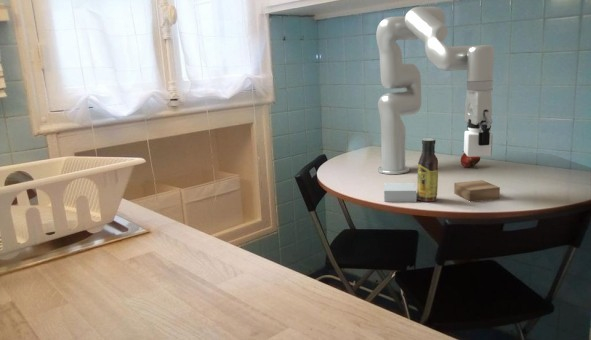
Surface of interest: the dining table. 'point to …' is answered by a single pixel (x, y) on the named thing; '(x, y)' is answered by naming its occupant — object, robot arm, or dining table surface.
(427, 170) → the sauce bottle
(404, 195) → the grey block
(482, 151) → the medicine bottle
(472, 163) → the pomegranate
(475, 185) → the walnut block
